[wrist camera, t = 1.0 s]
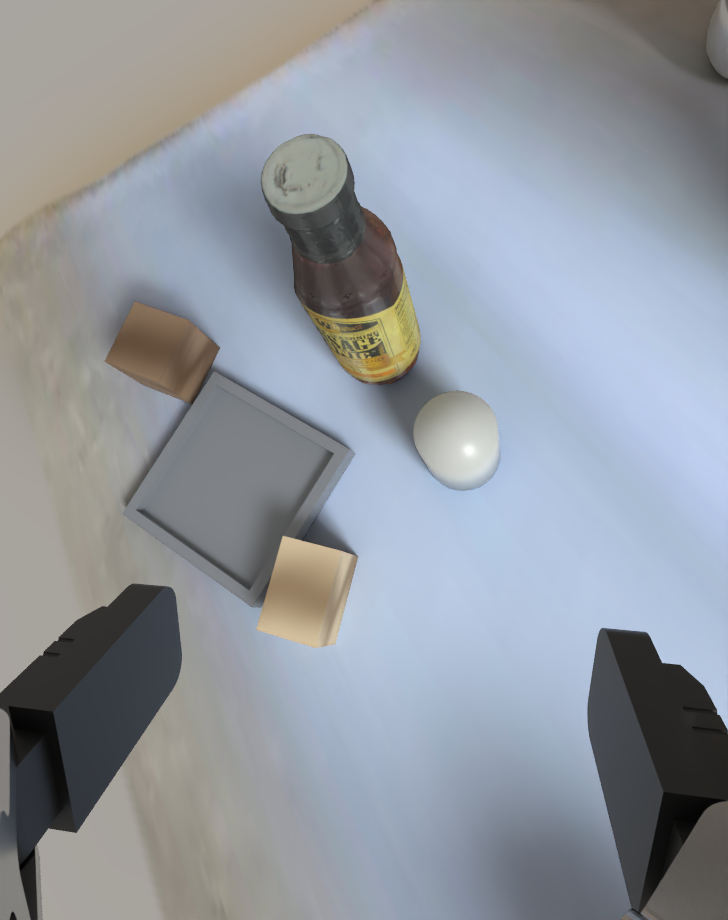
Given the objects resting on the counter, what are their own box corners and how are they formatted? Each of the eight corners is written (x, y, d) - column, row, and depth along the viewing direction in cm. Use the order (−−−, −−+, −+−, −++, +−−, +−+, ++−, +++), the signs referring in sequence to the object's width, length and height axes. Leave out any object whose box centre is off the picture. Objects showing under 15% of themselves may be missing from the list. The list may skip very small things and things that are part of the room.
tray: (222, 378, 48) (214, 371, 47) (354, 454, 44) (349, 449, 43) (133, 516, 47) (122, 513, 46) (260, 607, 43) (251, 607, 42)
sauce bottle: (326, 369, 46) (198, 205, 28) (367, 299, 47) (268, 91, 28) (402, 405, 44) (318, 254, 26) (443, 331, 45) (391, 131, 26)
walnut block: (170, 330, 51) (134, 301, 46) (220, 348, 49) (189, 320, 45) (143, 385, 50) (104, 361, 45) (193, 404, 49) (158, 382, 44)
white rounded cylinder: (450, 407, 44) (440, 377, 38) (514, 440, 42) (513, 414, 36) (413, 468, 43) (397, 446, 38) (476, 504, 42) (470, 487, 36)
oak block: (305, 543, 44) (282, 535, 40) (358, 556, 43) (341, 550, 39) (281, 627, 43) (256, 629, 39) (335, 644, 42) (315, 647, 37)
